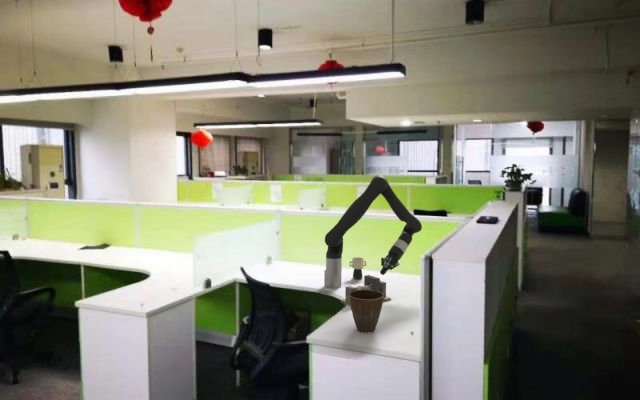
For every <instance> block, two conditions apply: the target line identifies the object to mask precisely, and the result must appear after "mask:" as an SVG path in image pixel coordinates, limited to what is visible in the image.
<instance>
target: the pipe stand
mask: <svg viewBox="0 0 640 400" xmlns="http://www.w3.org/2000/svg"><path fill="white" fill-rule="evenodd" d="M357 290H373V284H370V285H365V286H364V285H358V286H356V287H354V286H351V285H348V286H345V293H344V294H345V298H344V299H340V303H341V304H343V305H347V306H349V307H351V304H350V297H349V293H351V292H353V291H357ZM380 293H382V294H383V295H384V297H383V303H385V302H388V301H392V297H390V296H387V294H386V293H387V282H386V281H382V280H380Z"/></svg>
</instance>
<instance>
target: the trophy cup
mask: <svg viewBox="0 0 640 400" xmlns="http://www.w3.org/2000/svg"><path fill="white" fill-rule="evenodd" d="M366 266H367V261H366V260H365V259H364V257H359V256H358V257H357V256H355V257H352V261H351V260H350V261H349V267H352V268H353V273H352V278H353V279H355V280H360V279H364V277H363V269H364V267H366Z"/></svg>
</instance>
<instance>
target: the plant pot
mask: <svg viewBox="0 0 640 400" xmlns="http://www.w3.org/2000/svg"><path fill="white" fill-rule="evenodd" d="M349 297H350V304H351V306H350V309H351V313H352V318H353V322H354V324H355V327H356V329H357V332H359V331H360V333H362V332H367V333H366V334H369V333H368V332H372V333H374V332H375V330H376V327H377V324H378V322H379V319H380V315H381V312H382V307H383V303H384V302H383V297H384V295H383V294H382V293H380V292H378V291H372V290H357V291H353V292H351V293H349Z"/></svg>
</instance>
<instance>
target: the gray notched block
mask: <svg viewBox="0 0 640 400" xmlns="http://www.w3.org/2000/svg"><path fill="white" fill-rule="evenodd" d="M363 280H364V281H363V286H365V285H370V284H373V290H372V291H378V292H380V281H381V278H380V277H376V276H373V275H370V274H367V275H366V274H365V275H364V277H363Z"/></svg>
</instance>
